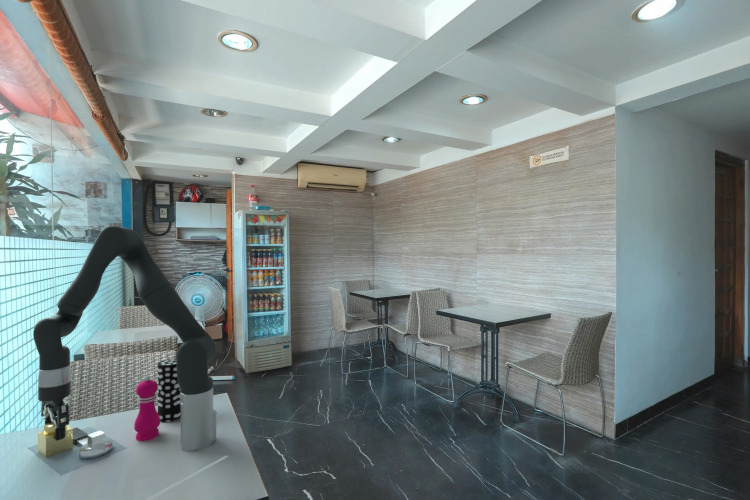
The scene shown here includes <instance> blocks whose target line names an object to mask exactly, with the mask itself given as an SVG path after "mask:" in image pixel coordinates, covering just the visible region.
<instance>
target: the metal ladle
mask: <svg viewBox="0 0 750 500" xmlns="http://www.w3.org/2000/svg"><path fill="white" fill-rule="evenodd" d="M105 435H106V432H104V431H102V430H97V432H94V433H91V434H87V433H85V432H84V431H82V430H81V429H80V428H79V427H74V428H73V444H74V445H78V446H80V447H81V448H80V449H79V458H80V459H82V460H91V459H96V458H99V457H102V456H104V455H106V454H108V453H109V452H111V451H112V449H113V441H112V440H111V439H112V438H111V439H105Z"/></svg>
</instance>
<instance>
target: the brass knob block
mask: <svg viewBox="0 0 750 500" xmlns="http://www.w3.org/2000/svg"><path fill="white" fill-rule="evenodd" d="M61 422H63V421H62V419H61ZM37 445H38V452H39V453H40V454H41V455H42V456H44V457H45V458H48V457H51V456H54V455H56V454H59V453H62V452H64V451H67V450H70V449H72V448H73V428H72V427H71V426H70V425H66V426H65V438H63V439H61V440H55V425H54V422H50V423H48V424H46V425H45V424H44V426H43V430H40V431H37Z"/></svg>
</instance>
